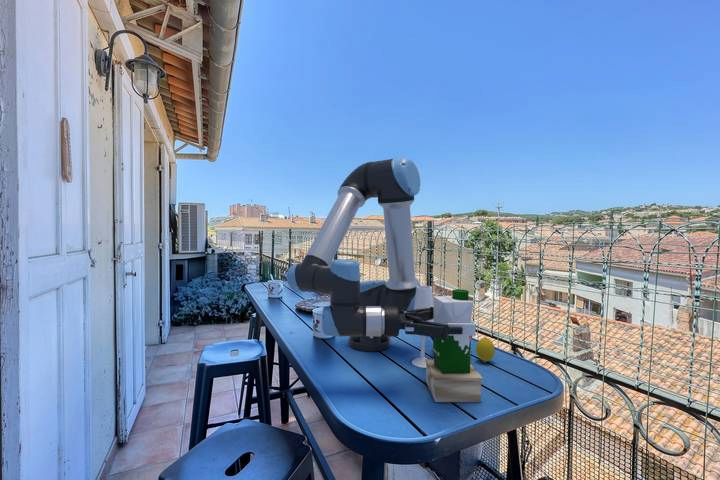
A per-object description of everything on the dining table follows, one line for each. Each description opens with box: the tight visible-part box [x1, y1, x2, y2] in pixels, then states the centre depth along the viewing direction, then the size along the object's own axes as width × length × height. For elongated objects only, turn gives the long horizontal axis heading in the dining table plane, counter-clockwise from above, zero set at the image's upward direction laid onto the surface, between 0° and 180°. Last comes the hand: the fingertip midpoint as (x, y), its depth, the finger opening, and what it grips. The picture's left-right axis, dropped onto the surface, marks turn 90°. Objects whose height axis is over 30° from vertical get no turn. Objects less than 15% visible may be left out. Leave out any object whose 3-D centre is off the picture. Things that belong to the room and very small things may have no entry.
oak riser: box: [425, 358, 484, 403], centre depth 85 cm, size 12×12×6 cm
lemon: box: [475, 336, 496, 363], centre depth 104 cm, size 6×6×8 cm
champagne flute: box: [411, 285, 434, 369], centre depth 102 cm, size 7×7×24 cm
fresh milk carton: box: [432, 289, 474, 374], centre depth 85 cm, size 9×9×20 cm
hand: (465, 321), depth 84 cm, fingers open, 13 cm apart
